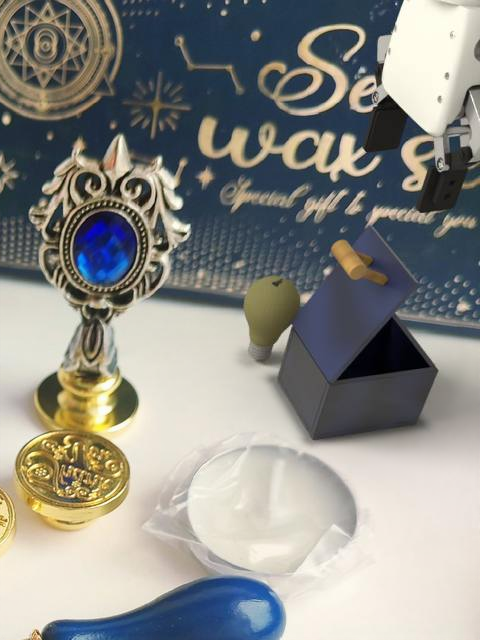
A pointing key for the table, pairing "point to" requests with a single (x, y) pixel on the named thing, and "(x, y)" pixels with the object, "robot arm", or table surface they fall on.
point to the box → (360, 384)
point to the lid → (353, 302)
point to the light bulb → (269, 313)
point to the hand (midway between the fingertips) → (406, 178)
